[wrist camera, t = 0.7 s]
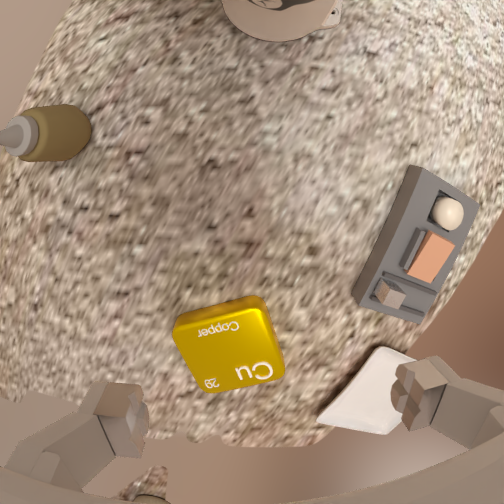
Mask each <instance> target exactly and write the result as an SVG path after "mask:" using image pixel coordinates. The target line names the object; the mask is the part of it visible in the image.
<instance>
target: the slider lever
mask: <svg viewBox="0 0 504 504" xmlns="http://www.w3.org/2000/svg"><path fill="white" fill-rule="evenodd" d="M374 294H375V295H376V296H377V298H378V299H379V300H380V302H381V303H382V304H383V305H386V306H389V307H392V308H395V309H399V307H400V306H401V304H402V302H403V300H404V299H405V297H406V294H405V293H404V292H403V290H402V289H401V288H400V287H399V286H398V285H397V284H396V283H393V282H390V281H388V280H385V279H382V278H381V279H380V281H379V283H378V284H377V286H376V288H375V290H374Z"/></svg>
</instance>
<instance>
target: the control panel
mask: <svg viewBox="0 0 504 504" xmlns="http://www.w3.org/2000/svg"><path fill="white" fill-rule="evenodd" d="M439 196H446V197H449V198H451V199H454V200H456V201H458V202H460V203H461V205H462V207H463V211H464V215H463V220H462V222H461V224H460V225H459V226H458V227H457V228H456V229H454V230H447V229H445V228H443V227H441V226H440V225H438V224H436V223H435V222H433V220H432V219H431V216H430V210H431V208H432V206H433V203H434V201H435V199H436V198H437V197H439ZM479 206H480V204H478V203H477V202H476V201H474V200H473V199H471V198H470V197H468V196H467V195H465V194H464V193H462V192H461V191H459V190H458V189H456V188H455V187H453V186H452V185H450V184H449V183H447V182H445V181H444V180H442V179H441V178H439V177H437V176H436V175H434V174H433V173H431V172H429V171H428V170H426V169H424V168H422V167H418V166H414V165H409V168H408V170H407V173H406V176H405V178H404V180H403V183H402V185H401V188H400V190H399V193H398V195H397V197H396V200H395V202H394V204H393V207H392V209H391V211H390V213H389V216H388V218H387V220H386V222H385V225H384V227H383V229H382V231H381V233H380V236H379V238H378V240H377V242H376V244H375V246H374V248H373V250H372V252H371V255H370V257H369V259H368V261H367V263H366V265H365V267H364V269H363V271H362V273H361V275H360V277H359V279H358V281H357V283H356V285H355V286H354V288H353V290H352V292H351V294H352V295H353V297H354V299H355V300H356V302H357V304H358V305H359V306H362V307H365V308H368V309H372V310H375V311H378V312H381V313H385V314H388V315H391V316H394V317H398V318H401V319H404V320H407V321H411V322H414V323H417V324H421V322H422V320H423V319H424V317H425V315H426V314H427V312H428V310H429V309H430V307H431V305H432V303H433V302H434V300H435V298H436V296H437V295H438V293H439V291H440V289H441V287H442V285H443V284H444V282H445V280H446V278H447V276H448V274H449V272H450V270H451V268H452V266H453V264H454V262H455V260H456V258H457V256H458V254H459V252H460V250H461V248H462V246H463V244H464V241H465V239H466V237H467V235H468V233H469V230H470V228H471V226H472V223H473V221H474V219H475V216H476V214H477V211H478V209H479ZM428 230H430V231H432V232H434V233H436V234H438V235H440V236H442V237H444V238H446V239H447V240H449V241H451V242H452V243H453V244H454V245H455V247H454V248H453V250H452V252H451V253H450V255H449V256H448V258H447V260H446V261H445V263H444V264H443V266H442V267H441V269H440V270H439V272H438V273H437V275H436V276H435V278H434V279H433V281H432V282H431V284H430V283H428V282H425V281H423V280H420V279H418V278H416V277H413V276H411V275H408V274H407V273H406V272H405V270H404V269H406V270H408V268H409V266H410V264H411V262H412V260H413V258H414V256H415V254H416V252H417V250H418V248H419V246H420V244H421V242H422V240H423V239H424V237H425V235H426V234H427V232H428ZM381 278H382V279H385V280H388V281H390V282H393V283H396V284H397V285H398V286H399V287H400V288H401V289H402V290H403V292H404V293H405V294H406V297H405V299H404V300H403V302H402V304H401V306H400V307H399V309H395V308H392V307H389V306H386V305H383V304H382V303H381V302H380V300H379V299H378V298H377V296H376V295H375V294H374V290H375V288H376V286H377V284H378V283H379V281H380V279H381Z"/></svg>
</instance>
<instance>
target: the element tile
mask: <svg viewBox="0 0 504 504" xmlns="http://www.w3.org/2000/svg"><path fill="white" fill-rule="evenodd" d="M172 337H173V340H174V342H175V344H176V346H177V348H178V349H179V351H180V353H181V355H182V357H183V359H184V360H185V362H186V364H187V366H188V368H189V369H190V371H191V373H192V375H193V377H194V378H195V380H196V382H197V383H198V385H199V387H200V388H201V389H202V390H203V391H204V392H206V393H219V392H224V391H229V390H234V389H239V388H243V387H248V386H252V385H257V384H261V383H265V382H270V381H274V380H277V379H279V378H281V377H282V376H283V375H284V373H285V364H284V358H283V353H282V350H281V348H280V345H279V342H278V339H277V336H276V333H275V330H274V327H273V324H272V321H271V318H270V315H269V312H268V309H267V306H266V304H265V302H264V300H263V299H262V298H261V297H258V296H253V295H251V296H246V297H242V298H239V299H235V300H231V301H228V302H224V303H220V304H217V305H213V306H209V307H206V308H202V309H198V310H194V311H190V312H186V313H183V314H181V315H180V316H178V318H177V320H176V323H175V326H174V328H173V331H172Z"/></svg>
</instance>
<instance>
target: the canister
mask: <svg viewBox="0 0 504 504" xmlns="http://www.w3.org/2000/svg"><path fill="white" fill-rule="evenodd" d="M133 502H138V503H147V504H170V503H169V502H167V501H165V500H163V499H161V498H158V497H154V496H148V495H142V496H138V497H136V498H135V499H134V501H133Z"/></svg>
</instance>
